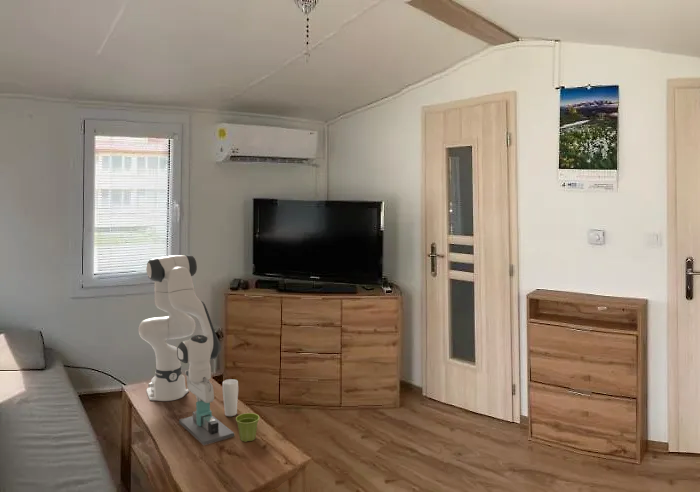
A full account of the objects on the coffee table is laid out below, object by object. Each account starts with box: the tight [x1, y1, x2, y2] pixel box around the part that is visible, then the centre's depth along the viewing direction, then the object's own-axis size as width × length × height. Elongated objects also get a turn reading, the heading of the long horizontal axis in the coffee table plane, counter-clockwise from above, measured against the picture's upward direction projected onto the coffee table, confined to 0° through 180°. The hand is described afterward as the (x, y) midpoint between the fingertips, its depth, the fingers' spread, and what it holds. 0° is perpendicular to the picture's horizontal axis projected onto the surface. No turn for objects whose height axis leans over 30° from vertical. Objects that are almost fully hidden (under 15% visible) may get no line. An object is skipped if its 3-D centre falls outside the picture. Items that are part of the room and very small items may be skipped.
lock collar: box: [195, 401, 213, 426], centre depth 226 cm, size 3×6×10 cm, turn 128°
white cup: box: [222, 378, 239, 417], centre depth 240 cm, size 7×7×15 cm
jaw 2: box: [205, 415, 219, 433], centre depth 224 cm, size 16×2×4 cm, turn 38°
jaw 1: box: [201, 416, 215, 434], centre depth 224 cm, size 16×2×4 cm, turn 38°
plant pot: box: [235, 412, 260, 443], centre depth 217 cm, size 9×9×9 cm
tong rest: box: [178, 410, 235, 446], centre depth 225 cm, size 26×13×4 cm, turn 38°
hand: (200, 406), depth 228 cm, fingers closed
